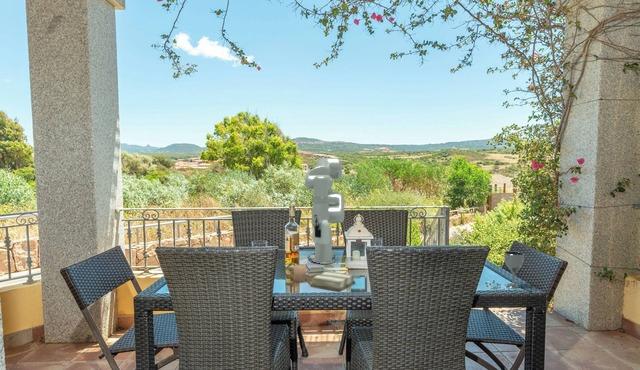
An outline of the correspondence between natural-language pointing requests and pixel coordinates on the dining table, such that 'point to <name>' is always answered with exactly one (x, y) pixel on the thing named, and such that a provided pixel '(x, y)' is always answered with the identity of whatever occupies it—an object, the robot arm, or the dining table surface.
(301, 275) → the tan short cylinder
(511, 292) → the dining table surface
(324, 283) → the beige ridged block
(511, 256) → the wine glass
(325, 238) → the grey rounded block
